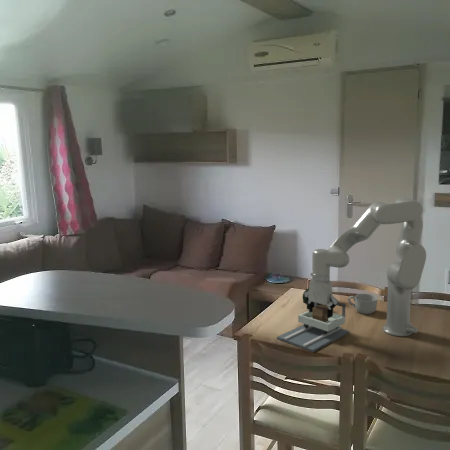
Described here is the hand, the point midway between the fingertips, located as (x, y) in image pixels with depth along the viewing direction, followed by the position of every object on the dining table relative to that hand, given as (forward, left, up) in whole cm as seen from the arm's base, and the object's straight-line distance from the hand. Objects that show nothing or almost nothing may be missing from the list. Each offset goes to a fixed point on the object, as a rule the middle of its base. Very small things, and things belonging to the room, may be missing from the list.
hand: (320, 314), depth 212 cm
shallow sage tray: (0, -1, -7) cm, 7 cm away
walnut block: (0, 0, -3) cm, 3 cm away
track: (0, +5, -9) cm, 10 cm away
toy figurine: (+22, -27, -9) cm, 36 cm away
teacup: (0, -36, -9) cm, 37 cm away
